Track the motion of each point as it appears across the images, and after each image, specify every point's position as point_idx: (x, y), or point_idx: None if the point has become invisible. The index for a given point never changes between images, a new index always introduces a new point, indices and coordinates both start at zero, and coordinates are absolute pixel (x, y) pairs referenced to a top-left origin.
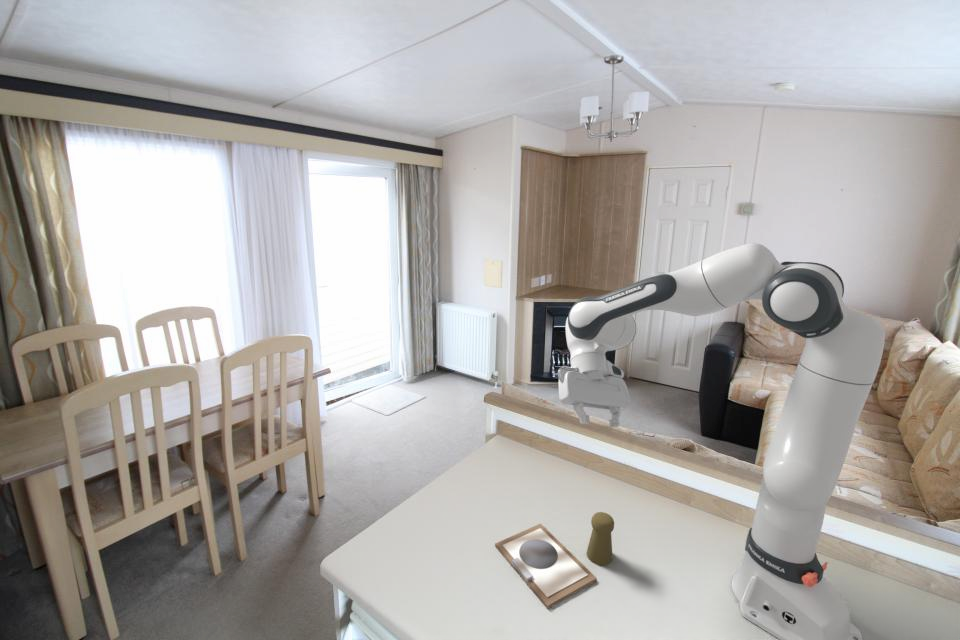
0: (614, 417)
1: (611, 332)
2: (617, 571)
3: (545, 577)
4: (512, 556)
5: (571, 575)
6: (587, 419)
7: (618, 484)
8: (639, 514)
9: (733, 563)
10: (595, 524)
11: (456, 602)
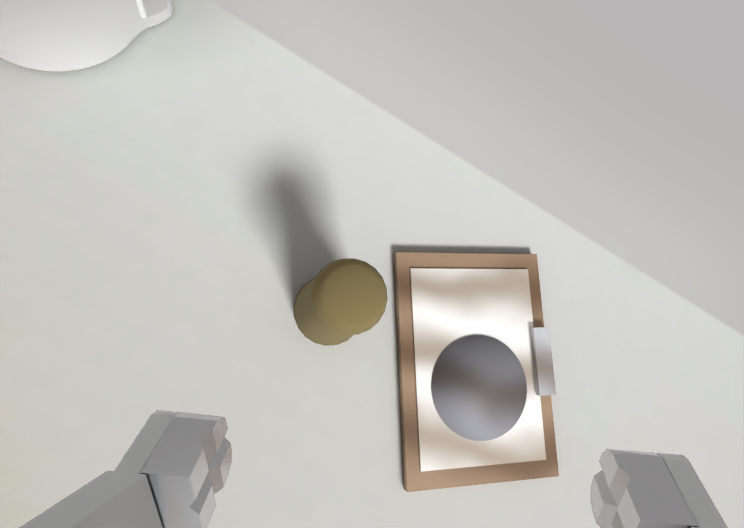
0: (130, 523)
1: None
2: (326, 247)
3: (504, 314)
4: (541, 410)
5: (446, 287)
6: (655, 472)
7: None
8: (61, 382)
9: (7, 95)
10: (386, 294)
11: (680, 363)
